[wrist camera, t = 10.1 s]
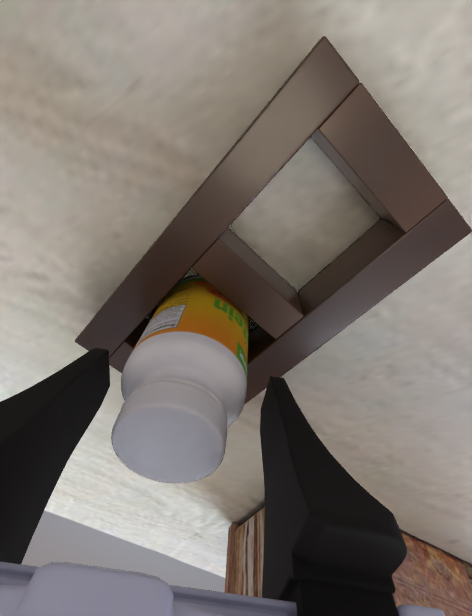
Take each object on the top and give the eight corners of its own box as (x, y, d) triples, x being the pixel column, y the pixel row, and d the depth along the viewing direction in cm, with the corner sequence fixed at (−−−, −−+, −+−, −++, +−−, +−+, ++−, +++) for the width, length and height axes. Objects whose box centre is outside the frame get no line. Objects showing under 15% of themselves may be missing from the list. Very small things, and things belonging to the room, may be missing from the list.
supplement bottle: (265, 327, 20) (274, 469, 11) (195, 361, 21) (155, 510, 13) (217, 256, 18) (184, 363, 9) (144, 299, 19) (56, 427, 11)
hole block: (437, 216, 16) (474, 231, 13) (214, 398, 23) (209, 431, 20) (310, 55, 13) (324, 33, 11) (97, 315, 20) (73, 341, 17)
